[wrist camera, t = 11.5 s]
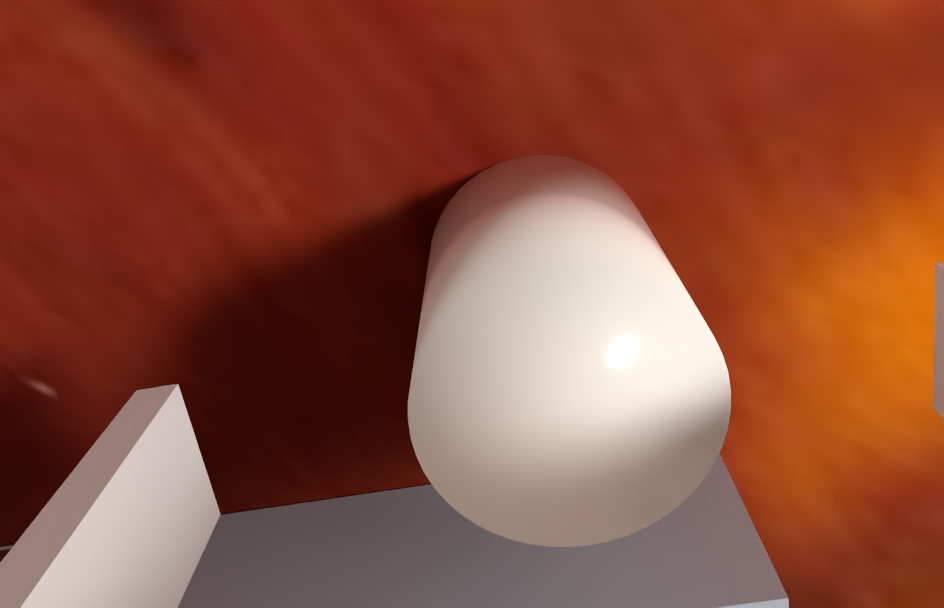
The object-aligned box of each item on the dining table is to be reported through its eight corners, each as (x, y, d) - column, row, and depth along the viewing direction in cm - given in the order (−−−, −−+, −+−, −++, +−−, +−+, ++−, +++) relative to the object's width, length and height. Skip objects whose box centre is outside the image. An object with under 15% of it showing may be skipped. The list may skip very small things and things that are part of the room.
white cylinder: (409, 175, 19) (376, 293, 13) (637, 136, 19) (720, 237, 13) (451, 376, 21) (440, 566, 15) (658, 344, 21) (740, 524, 15)
